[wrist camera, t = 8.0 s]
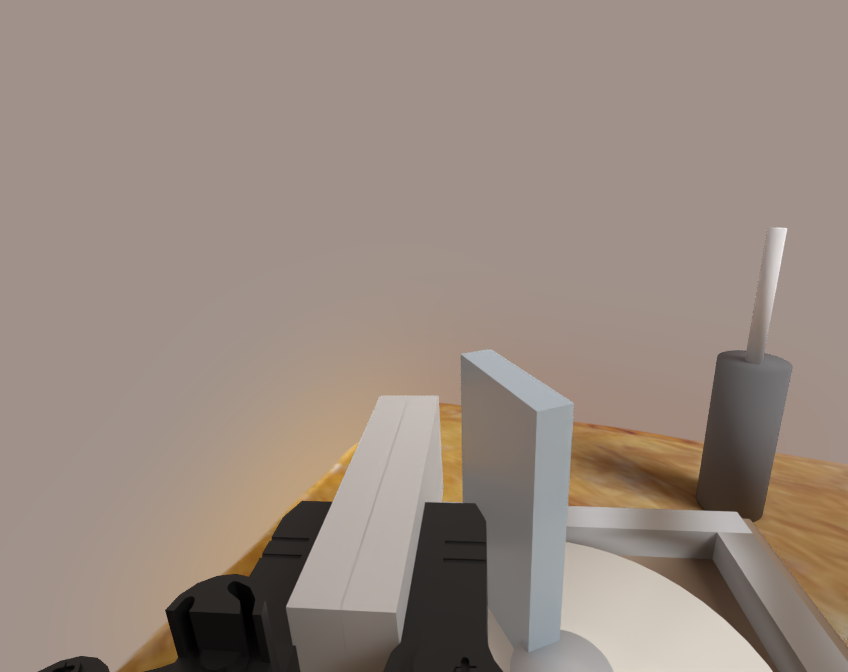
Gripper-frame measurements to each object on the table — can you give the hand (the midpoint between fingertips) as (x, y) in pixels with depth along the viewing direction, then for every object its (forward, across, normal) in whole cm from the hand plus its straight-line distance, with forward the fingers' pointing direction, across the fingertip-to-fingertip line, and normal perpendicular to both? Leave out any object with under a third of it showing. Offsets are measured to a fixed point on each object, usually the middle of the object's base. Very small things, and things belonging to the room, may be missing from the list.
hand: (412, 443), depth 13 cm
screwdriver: (+16, +16, -13) cm, 26 cm away
